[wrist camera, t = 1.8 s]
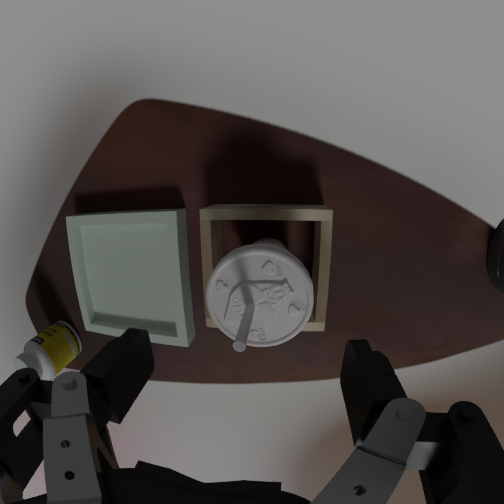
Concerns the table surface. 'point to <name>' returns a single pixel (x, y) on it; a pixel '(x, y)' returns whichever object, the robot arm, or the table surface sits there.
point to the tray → (133, 273)
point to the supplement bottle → (50, 350)
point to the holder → (318, 213)
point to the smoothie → (260, 295)
